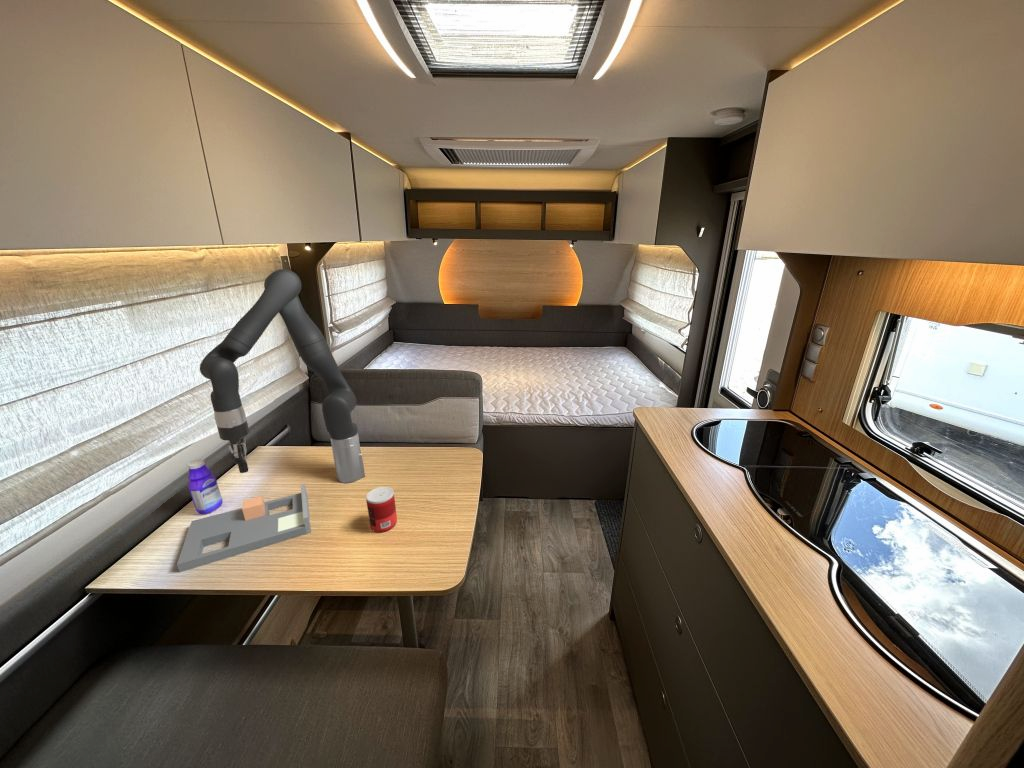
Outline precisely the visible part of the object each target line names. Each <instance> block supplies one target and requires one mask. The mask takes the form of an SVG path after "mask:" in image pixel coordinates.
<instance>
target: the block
mask: <svg viewBox="0 0 1024 768" xmlns="http://www.w3.org/2000/svg"><path fill="white" fill-rule="evenodd" d="M264 502H265V501H264V497H263V495H261V496H257V497H252V498H249V499H244V500H243V502H242V507H241V508H242V510H243V514H244V518H245V521H246V520H249V519H253V518H257V517H260V516H264V515H265V504H264Z"/></svg>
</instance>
